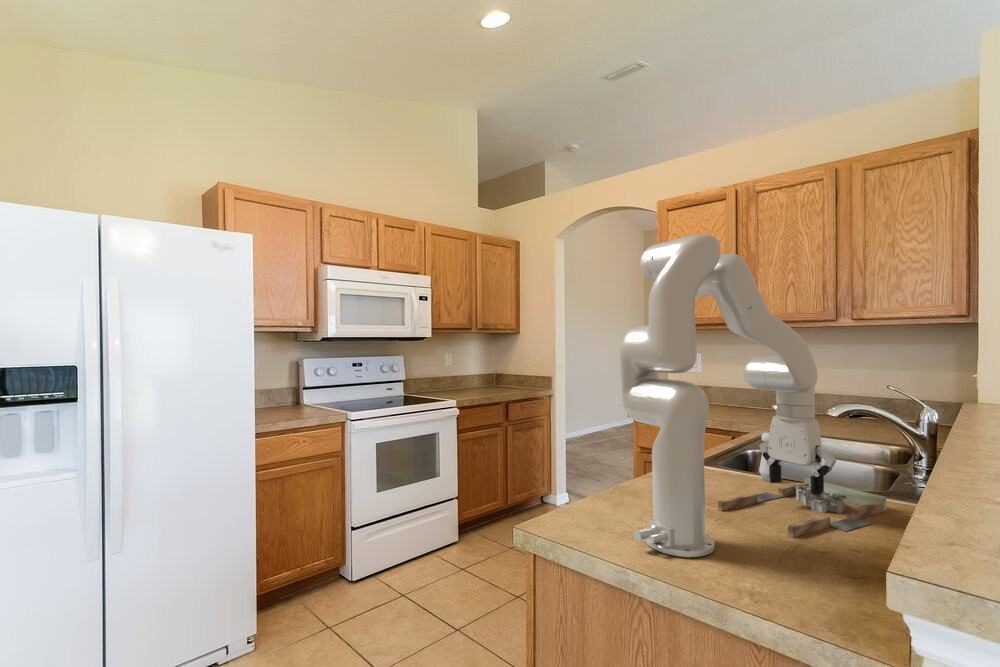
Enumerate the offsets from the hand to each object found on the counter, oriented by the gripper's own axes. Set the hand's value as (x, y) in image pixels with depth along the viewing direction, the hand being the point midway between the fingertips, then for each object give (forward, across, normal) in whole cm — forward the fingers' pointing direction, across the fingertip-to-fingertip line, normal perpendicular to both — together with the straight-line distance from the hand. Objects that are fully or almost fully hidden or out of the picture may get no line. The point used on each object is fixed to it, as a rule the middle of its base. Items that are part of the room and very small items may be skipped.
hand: (795, 487), depth 113 cm
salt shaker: (+5, -19, +18) cm, 27 cm away
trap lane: (+5, 0, +2) cm, 6 cm away
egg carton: (+6, 0, +9) cm, 11 cm away
